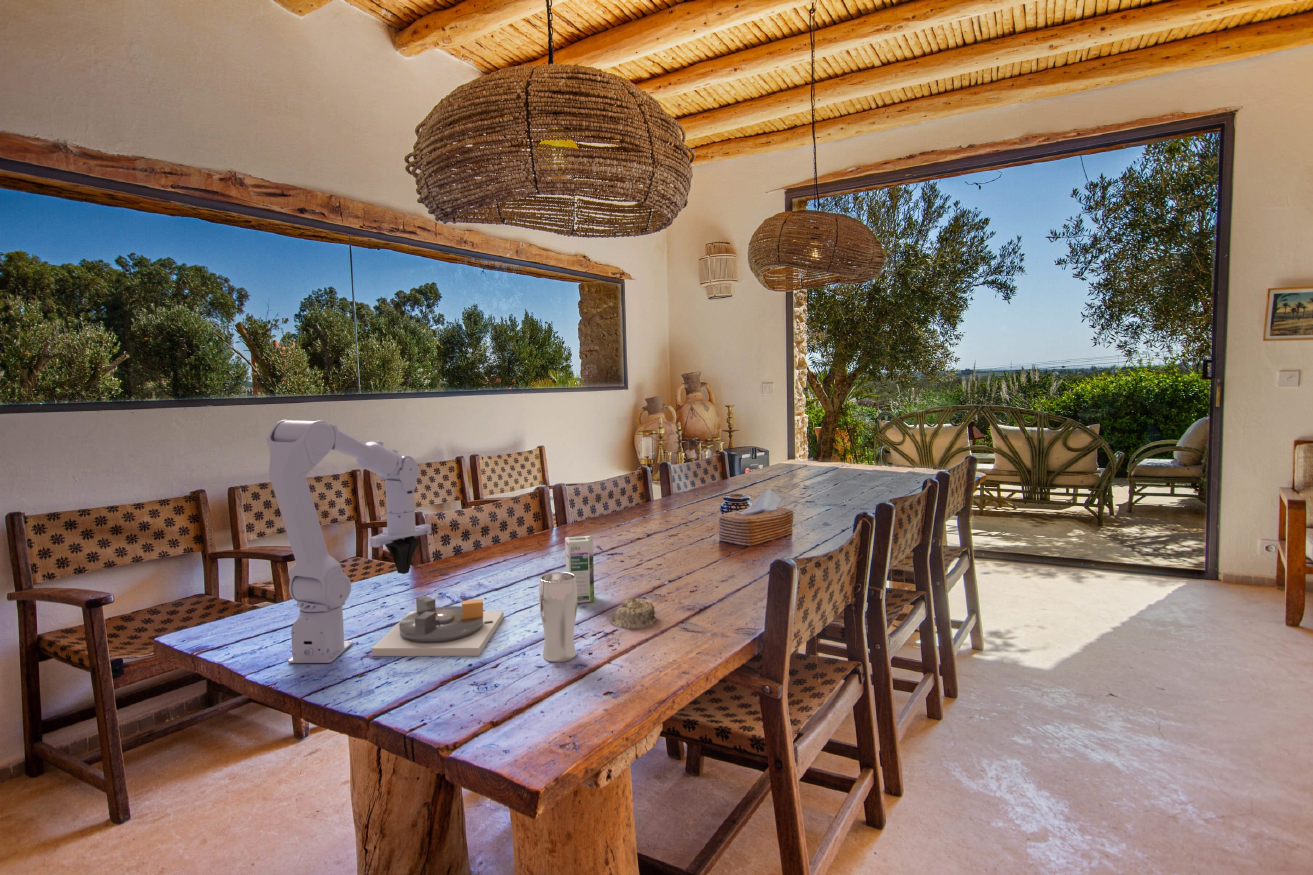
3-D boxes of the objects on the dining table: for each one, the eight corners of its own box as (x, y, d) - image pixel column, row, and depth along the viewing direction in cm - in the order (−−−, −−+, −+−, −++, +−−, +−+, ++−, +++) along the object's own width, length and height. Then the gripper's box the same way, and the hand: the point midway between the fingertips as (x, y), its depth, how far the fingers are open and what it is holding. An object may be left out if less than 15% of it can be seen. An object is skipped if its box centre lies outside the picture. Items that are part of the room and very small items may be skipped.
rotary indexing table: (499, 625, 139) (498, 603, 139) (426, 649, 127) (425, 625, 127) (455, 608, 150) (454, 587, 149) (384, 628, 138) (383, 606, 137)
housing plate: (479, 655, 129) (478, 646, 128) (371, 655, 129) (371, 647, 129) (503, 617, 148) (503, 610, 148) (410, 618, 149) (410, 610, 149)
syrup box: (569, 604, 157) (568, 541, 155) (565, 596, 162) (564, 535, 161) (594, 602, 158) (593, 540, 157) (590, 594, 164) (589, 534, 163)
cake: (657, 616, 151) (659, 592, 151) (654, 633, 141) (656, 608, 141) (612, 611, 152) (614, 587, 151) (606, 628, 142) (608, 603, 141)
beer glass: (560, 645, 133) (559, 569, 132) (586, 654, 129) (584, 575, 127) (532, 656, 128) (530, 577, 127) (558, 666, 124) (556, 584, 122)
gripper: (415, 503, 157) (417, 562, 158) (359, 515, 144) (362, 578, 146) (437, 506, 153) (439, 566, 154) (381, 518, 141) (384, 583, 142)
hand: (403, 572), depth 150 cm, fingers closed
